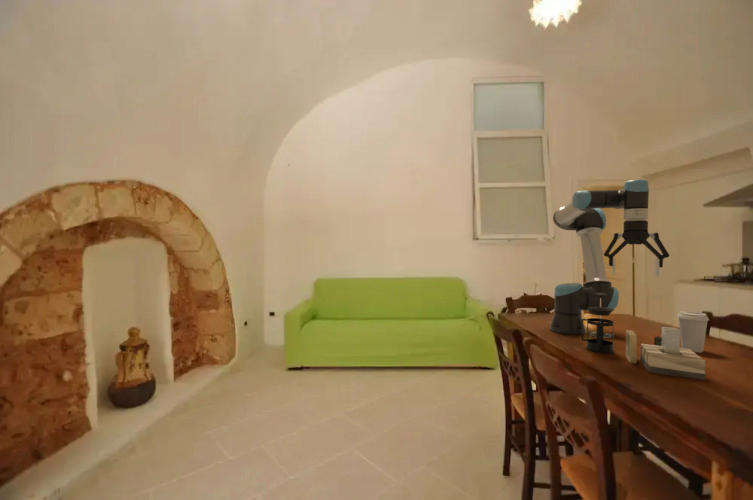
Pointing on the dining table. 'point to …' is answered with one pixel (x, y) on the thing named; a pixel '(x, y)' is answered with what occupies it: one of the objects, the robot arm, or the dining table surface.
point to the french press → (599, 330)
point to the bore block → (672, 362)
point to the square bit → (670, 340)
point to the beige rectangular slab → (631, 346)
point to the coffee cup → (692, 330)
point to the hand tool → (657, 341)
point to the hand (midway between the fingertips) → (634, 275)
